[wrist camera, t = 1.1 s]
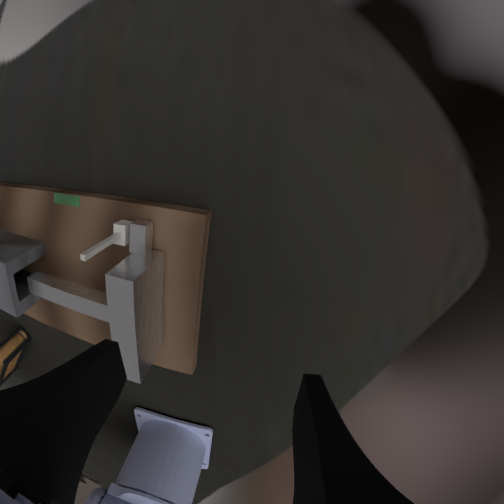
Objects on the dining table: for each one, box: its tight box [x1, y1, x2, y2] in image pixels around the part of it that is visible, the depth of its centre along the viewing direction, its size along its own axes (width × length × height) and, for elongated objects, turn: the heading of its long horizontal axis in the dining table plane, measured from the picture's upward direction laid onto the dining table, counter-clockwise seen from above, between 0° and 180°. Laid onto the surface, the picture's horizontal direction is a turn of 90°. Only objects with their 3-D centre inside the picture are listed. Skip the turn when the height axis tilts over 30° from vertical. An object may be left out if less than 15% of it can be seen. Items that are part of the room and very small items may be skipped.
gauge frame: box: [0, 182, 212, 375], centre depth 17 cm, size 24×12×6 cm, turn 81°
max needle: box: [80, 220, 133, 261], centre depth 14 cm, size 1×1×5 cm
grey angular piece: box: [27, 219, 164, 384], centre depth 16 cm, size 10×9×4 cm
